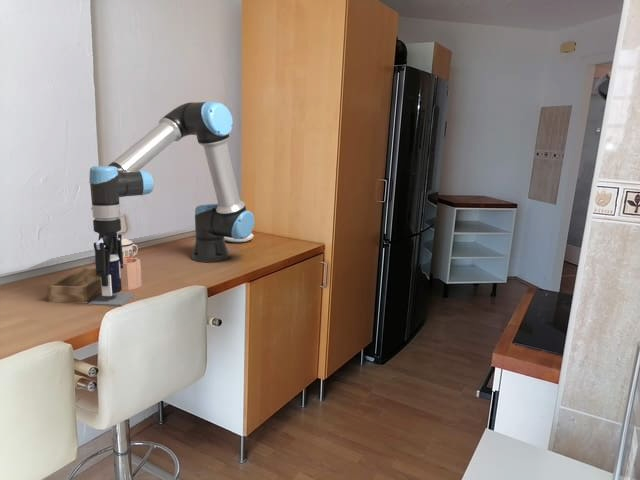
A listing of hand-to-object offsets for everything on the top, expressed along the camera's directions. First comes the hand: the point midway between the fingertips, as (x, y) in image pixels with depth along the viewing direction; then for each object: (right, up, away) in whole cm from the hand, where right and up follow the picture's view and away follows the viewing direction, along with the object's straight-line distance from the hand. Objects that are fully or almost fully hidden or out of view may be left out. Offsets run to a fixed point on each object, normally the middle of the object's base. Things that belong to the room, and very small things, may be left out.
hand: (111, 292), depth 144 cm
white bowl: (+23, +15, +88) cm, 93 cm away
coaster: (0, -3, +1) cm, 3 cm away
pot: (-1, 0, +14) cm, 14 cm away
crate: (-12, -1, +8) cm, 14 cm away
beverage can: (0, -1, 0) cm, 1 cm away
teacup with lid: (-13, +6, +42) cm, 44 cm away
